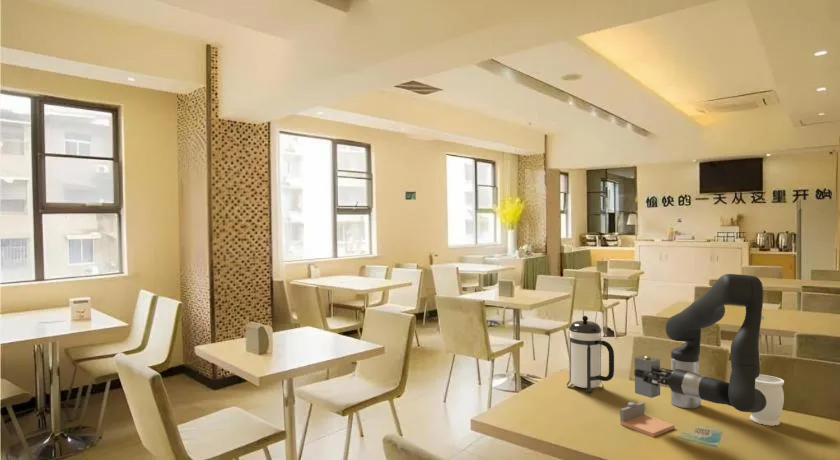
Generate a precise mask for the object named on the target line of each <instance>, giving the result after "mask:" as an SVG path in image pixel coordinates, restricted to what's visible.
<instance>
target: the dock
mask: <svg viewBox="0 0 840 460" xmlns="http://www.w3.org/2000/svg"><path fill="white" fill-rule="evenodd" d="M619 413H620V414H619V415H620V419H619V424H620V426H624V427H626V428H628V429H631V430H633V431H636V432H638V433H639V432H640V433H641V434H645V435H647V436H649V437H652V438H654V437H657V436H659V435H663V434H664V433H667V432H670V431H671V430H674V429H675V424H674V423H671V422H667V421H665V420H661V419H659V418H656V417H653V416H650V415H647V414H645V402H642V401H640V402H638V403H636V402H632V401H630V402H628V403H627V406H625V407H623V408H620V412H619Z"/></svg>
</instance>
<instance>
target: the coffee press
mask: <svg viewBox="0 0 840 460" xmlns="http://www.w3.org/2000/svg"><path fill="white" fill-rule="evenodd" d="M581 318H582V320H575V321H572V323H571V324H570V326H569V328H568V333H569V364H568V365H569V366H568V367H569V368H568V369H569V372H568V375H569V377H568V378H569V379H568V382H566V387H567V388H569V389H570V388H571V387H572V386H576V387H579V388H583V389H585V390H586V394H592V389H595V388H597V387H598V388H600V389H604V388H605V386H604V384H603V383H602V382H609V381H611V380H612V379H613V378H614V375H615V352H614V348H613V346H612V345H611V343H609V342H608V341H605V340H602V337H601V336H602V334H601V333H602V328H601V326H600V325H599V324H598V323H597V322H594V321H589V317H588V316H587V315H583V316H582V317H581ZM602 346H604V347H605V348H606V349H607V351H608V373H607V376H604V375H602ZM570 383H571V384H570ZM569 384H570V385H569ZM600 384H601V385H602V386H600ZM568 385H569V386H568Z"/></svg>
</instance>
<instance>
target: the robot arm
mask: <svg viewBox="0 0 840 460" xmlns="http://www.w3.org/2000/svg"><path fill="white" fill-rule="evenodd" d="M763 303H764V287H763V283H762V280H760V278H759V277H758V276H755V275H751V274H750V275H749V274H747V275H746V274H736V273H727V274H723V275H721V276H720V277H719V278H718V279H717V280H715V282H714V283H713V285H712V286H711V287H710V288H709V289H708V290H707V291H705V293H704V294H702V295H701V296H700V297H698V298H697V299H696V300H694V301H693V302H692V303H691V304H689V306H687V307H686V308H685V309H683V310H681V311H680V312H678V313H676V314H674V315H672V316H671V317H668V320H667V322H665V323H666V324H665V332H666V333H665V334H666V335H667V337H668V338H669V339H670V340H672V341H674V342H684V343H683V344H682V345H680V346H677V347H675V348H672V350H671V351H670V369H669V368H663V367H660V371H659V372H652V373H649V372H644V371H641V370H635V369H634V371H633V373H634V377H635V376H636V377H640V378H643V381H644V382H646V383H649V384H652V385H654V386H658V384H660V386H665V387H667V386H668V387H669V389H670V403H671V404H672V405H673V406H675V407H678V408H682V409H683V408H684V409H697V408H699V407H700V406H702V405H701V404H702V400H703V401H707V402H709V403H710V402H711V403H714V404H719V405H727V406H730V407H733V408H734V409H735V410H737V411H739V412H743V413H751V412H752V413H756V412H760V411H762V410H763V409H764V408H765V406H766V398H765V396H764V394H763V393H762V392H761V391H759V390H758V389H756V388H755V379H756V378H757V377H759V375H760V374H761V364H760V363H761V362H760V361H761V360H760V347H759V345H760V333H761V332H760V330H761V322H762V315H763V314H762V313H763V312H762V311H763ZM725 305H733V306H741V307H742V306H745V314H744V315H745V317H744V320H743V322H742V325H741V326H740V327H739V329H738V331H737V332H736V334H735V336H734V338H733V339H732V341H731V344H730V364H731V365H730V367H731V370H730V371H731V372H730V376H729V382H727V381H723V380H721V379H717V378H713V377H710V376H706V375H702V374H700V373H699V372H700V370H699V369H700V365H699V361H700V359H699V358H700V357H699V356H700V353H701V340H702V329H705V328H709V327H712V326H714V325H715V324H716V323H719V321H721V320H722V319H723V317H724V316H725V313H726V306H725ZM655 374H656V377H655ZM651 375H652V376H651Z"/></svg>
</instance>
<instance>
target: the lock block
mask: <svg viewBox="0 0 840 460" xmlns="http://www.w3.org/2000/svg"><path fill="white" fill-rule="evenodd" d="M635 370H641V371H644V372H649V373H652V372H659V371H660V370H661V359H660V358H656V357H651V356H649V355H639V356H636V357H634V371H635ZM651 376H652V375H651ZM655 377H656V374H655ZM634 394H638V395H641V396H643V397H647V398H650V399H653V398H655V397H658V396H661V384H658V386H654V385H652V384H649V383H646V382H644V381H643V378H640V377H636V376H635V375H634Z"/></svg>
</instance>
